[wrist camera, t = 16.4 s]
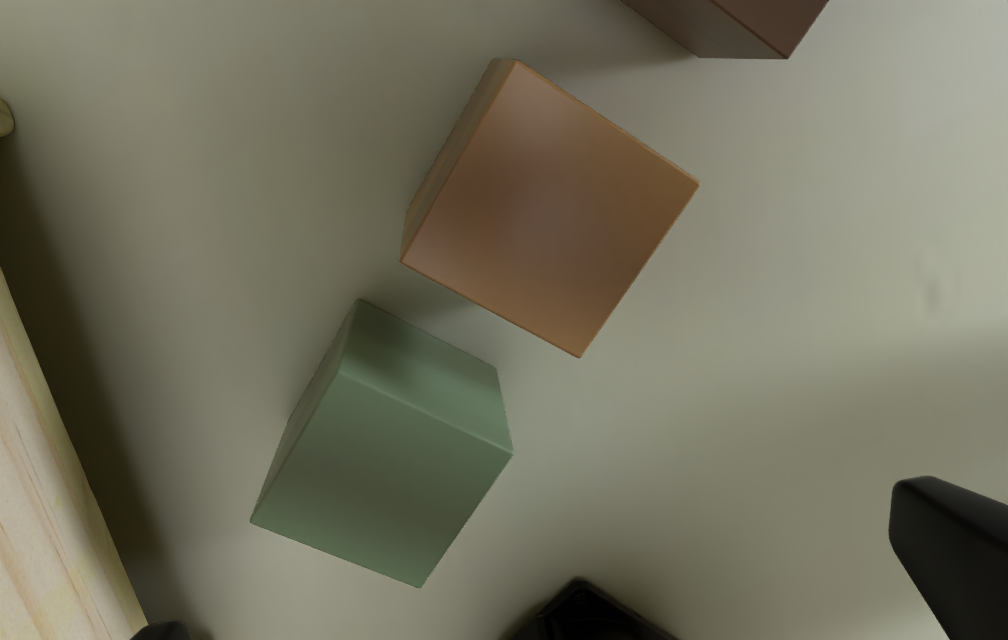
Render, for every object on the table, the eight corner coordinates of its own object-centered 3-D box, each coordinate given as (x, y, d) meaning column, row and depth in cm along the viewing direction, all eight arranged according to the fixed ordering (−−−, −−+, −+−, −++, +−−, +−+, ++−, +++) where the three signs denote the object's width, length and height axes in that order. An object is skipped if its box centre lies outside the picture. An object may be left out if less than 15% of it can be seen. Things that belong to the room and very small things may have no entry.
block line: (889, -805, 13) (1141, -1274, 8) (1130, -484, 15) (1433, -716, 11) (242, 403, 21) (190, 501, 17) (459, 499, 23) (467, 608, 19)
